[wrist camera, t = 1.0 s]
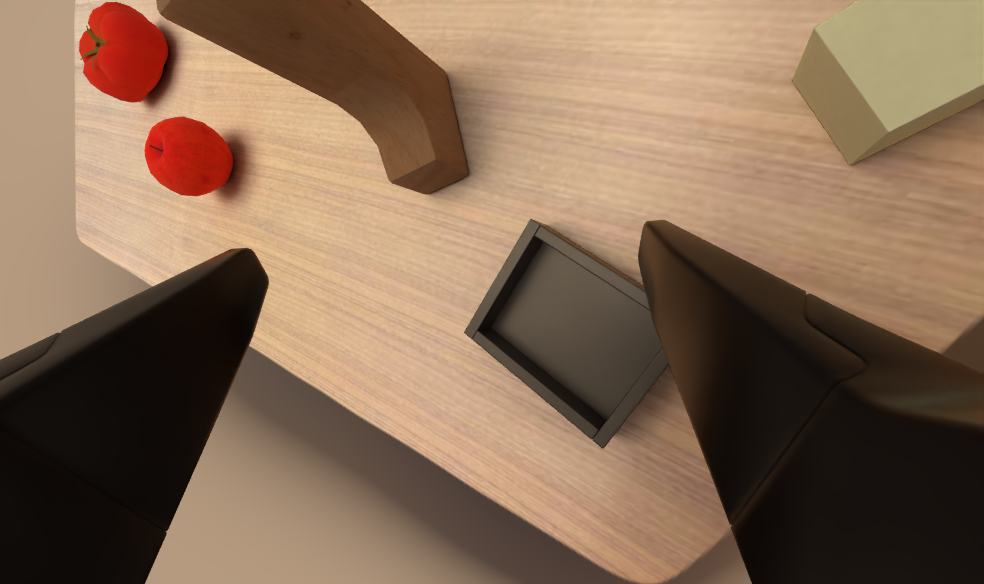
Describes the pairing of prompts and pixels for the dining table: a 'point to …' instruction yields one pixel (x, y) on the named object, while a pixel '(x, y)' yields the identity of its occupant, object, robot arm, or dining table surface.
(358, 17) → the wooden block
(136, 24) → the tomato
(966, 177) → the dining table surface
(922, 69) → the olive green block
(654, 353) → the mount
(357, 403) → the dining table surface
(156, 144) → the apple
